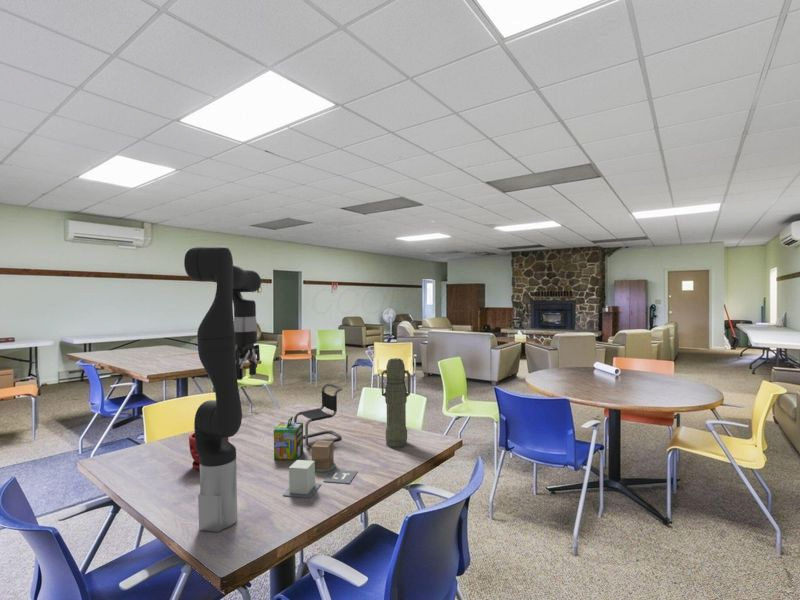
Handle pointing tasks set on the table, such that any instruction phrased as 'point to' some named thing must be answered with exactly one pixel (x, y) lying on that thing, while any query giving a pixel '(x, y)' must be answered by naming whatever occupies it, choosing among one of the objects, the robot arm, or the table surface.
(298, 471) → the sage block
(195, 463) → the plant pot
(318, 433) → the chair
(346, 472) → the tile
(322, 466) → the walnut block
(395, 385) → the thermos
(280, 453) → the chalk box
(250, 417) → the table surface
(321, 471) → the rubber coaster
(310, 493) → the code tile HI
